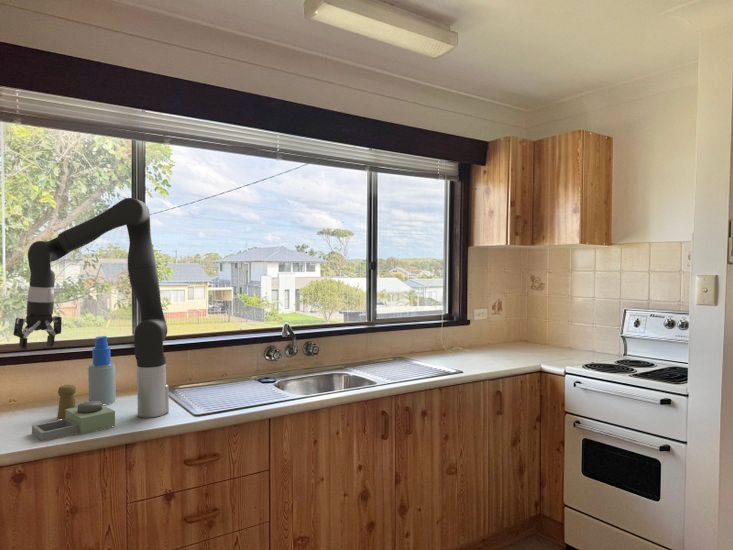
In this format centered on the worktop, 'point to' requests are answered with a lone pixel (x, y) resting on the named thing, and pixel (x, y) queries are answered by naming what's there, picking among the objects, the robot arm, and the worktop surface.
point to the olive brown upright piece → (66, 400)
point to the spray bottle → (101, 373)
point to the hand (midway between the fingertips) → (36, 347)
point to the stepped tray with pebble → (77, 421)
